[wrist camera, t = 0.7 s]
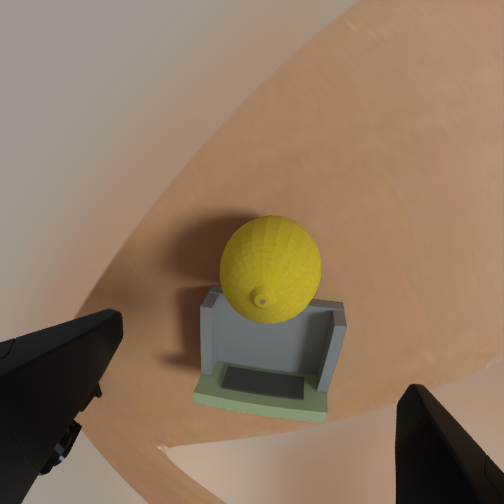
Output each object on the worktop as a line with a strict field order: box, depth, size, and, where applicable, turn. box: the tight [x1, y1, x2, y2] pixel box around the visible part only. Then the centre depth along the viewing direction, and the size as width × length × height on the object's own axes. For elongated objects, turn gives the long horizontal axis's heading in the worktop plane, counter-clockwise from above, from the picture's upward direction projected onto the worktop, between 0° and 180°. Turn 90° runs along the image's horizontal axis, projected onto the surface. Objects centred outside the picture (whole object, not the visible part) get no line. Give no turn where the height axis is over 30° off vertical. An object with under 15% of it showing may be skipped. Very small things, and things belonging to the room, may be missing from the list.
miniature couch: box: [194, 285, 347, 422], centre depth 21 cm, size 10×8×5 cm
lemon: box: [219, 215, 322, 324], centre depth 17 cm, size 6×6×8 cm
